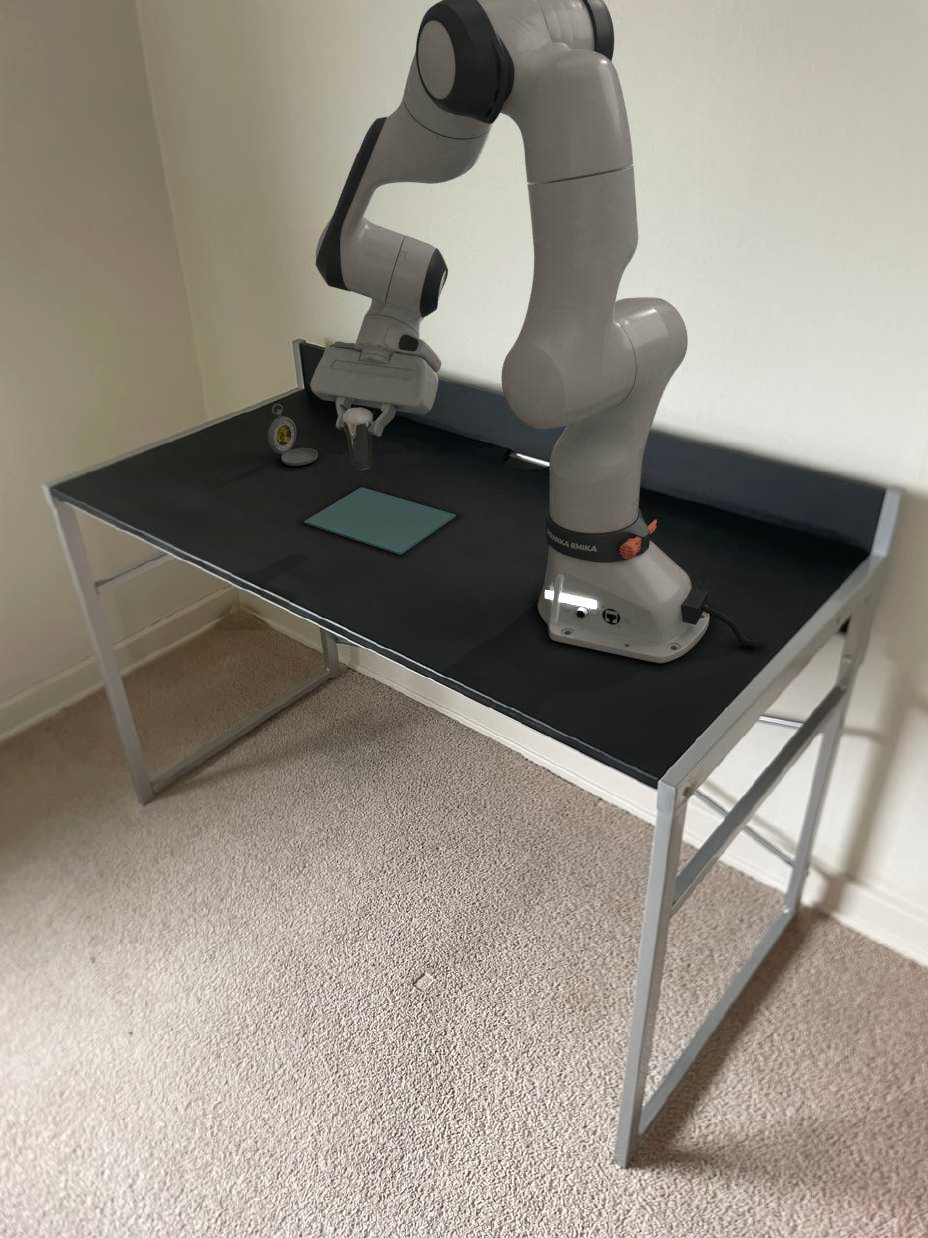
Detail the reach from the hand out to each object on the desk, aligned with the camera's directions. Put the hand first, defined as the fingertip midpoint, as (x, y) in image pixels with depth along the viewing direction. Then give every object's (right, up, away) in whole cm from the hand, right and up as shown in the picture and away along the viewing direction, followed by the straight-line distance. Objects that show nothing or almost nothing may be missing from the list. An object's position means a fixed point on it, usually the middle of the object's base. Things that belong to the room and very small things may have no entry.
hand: (357, 431), depth 138 cm
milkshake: (+1, -5, +4) cm, 6 cm away
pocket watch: (-15, +1, +31) cm, 34 cm away
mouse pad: (+2, -12, +9) cm, 15 cm away
